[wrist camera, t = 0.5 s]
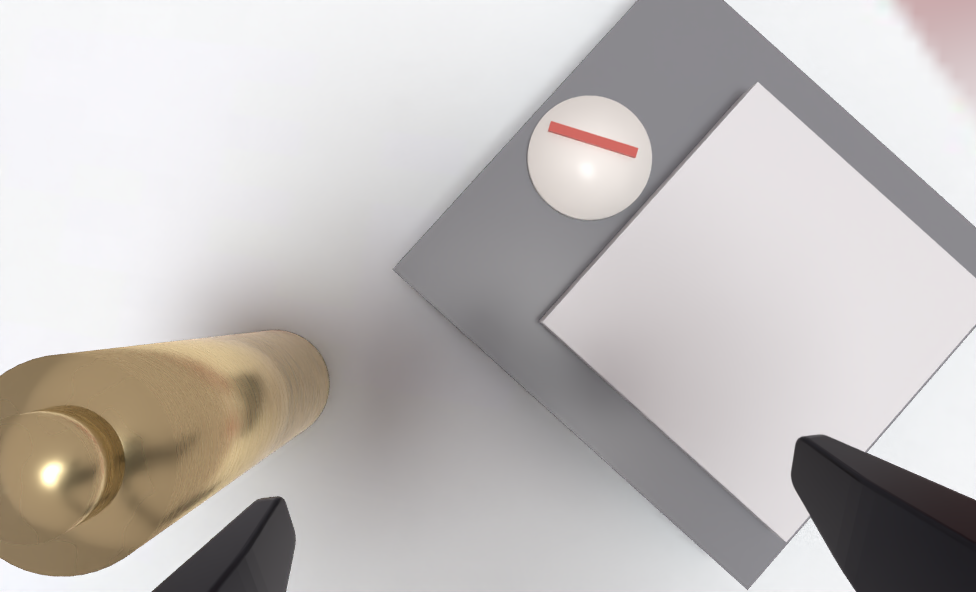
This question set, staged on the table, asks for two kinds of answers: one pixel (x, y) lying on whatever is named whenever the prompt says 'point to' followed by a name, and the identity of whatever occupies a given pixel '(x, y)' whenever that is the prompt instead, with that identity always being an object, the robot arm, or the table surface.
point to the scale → (704, 271)
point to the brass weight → (140, 439)
